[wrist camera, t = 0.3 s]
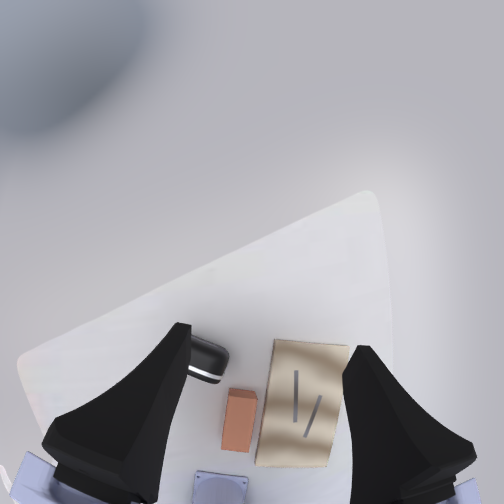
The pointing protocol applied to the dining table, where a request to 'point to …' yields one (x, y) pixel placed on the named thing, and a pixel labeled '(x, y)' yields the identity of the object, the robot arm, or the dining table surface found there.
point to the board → (301, 404)
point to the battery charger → (207, 360)
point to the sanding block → (239, 420)
